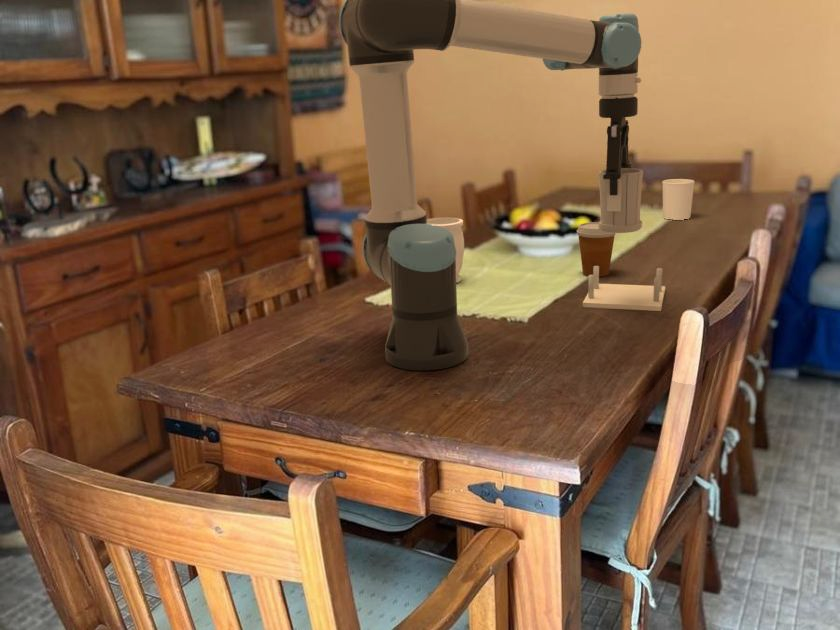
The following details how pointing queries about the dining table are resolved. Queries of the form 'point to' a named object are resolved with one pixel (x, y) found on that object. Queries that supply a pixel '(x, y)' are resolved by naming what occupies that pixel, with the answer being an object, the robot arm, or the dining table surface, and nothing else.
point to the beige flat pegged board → (624, 294)
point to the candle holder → (677, 198)
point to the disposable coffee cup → (595, 248)
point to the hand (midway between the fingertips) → (617, 205)
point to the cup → (622, 203)
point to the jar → (456, 231)
